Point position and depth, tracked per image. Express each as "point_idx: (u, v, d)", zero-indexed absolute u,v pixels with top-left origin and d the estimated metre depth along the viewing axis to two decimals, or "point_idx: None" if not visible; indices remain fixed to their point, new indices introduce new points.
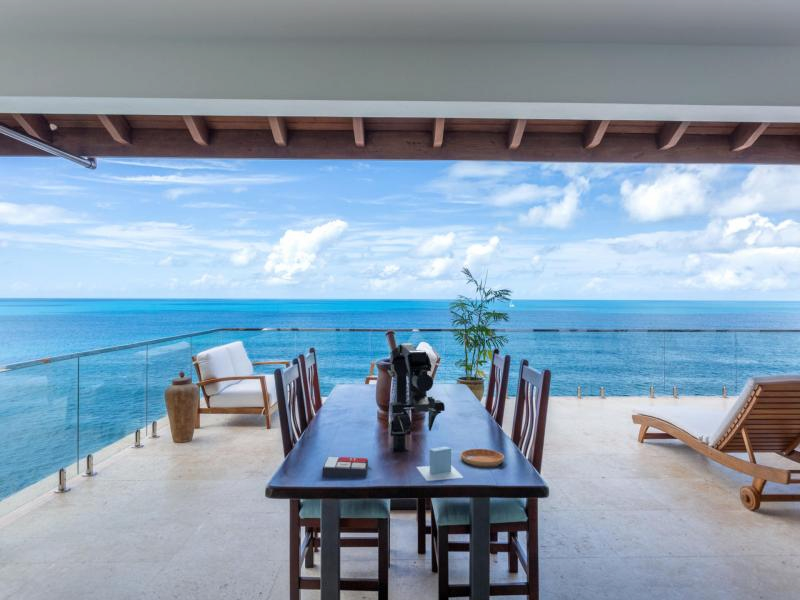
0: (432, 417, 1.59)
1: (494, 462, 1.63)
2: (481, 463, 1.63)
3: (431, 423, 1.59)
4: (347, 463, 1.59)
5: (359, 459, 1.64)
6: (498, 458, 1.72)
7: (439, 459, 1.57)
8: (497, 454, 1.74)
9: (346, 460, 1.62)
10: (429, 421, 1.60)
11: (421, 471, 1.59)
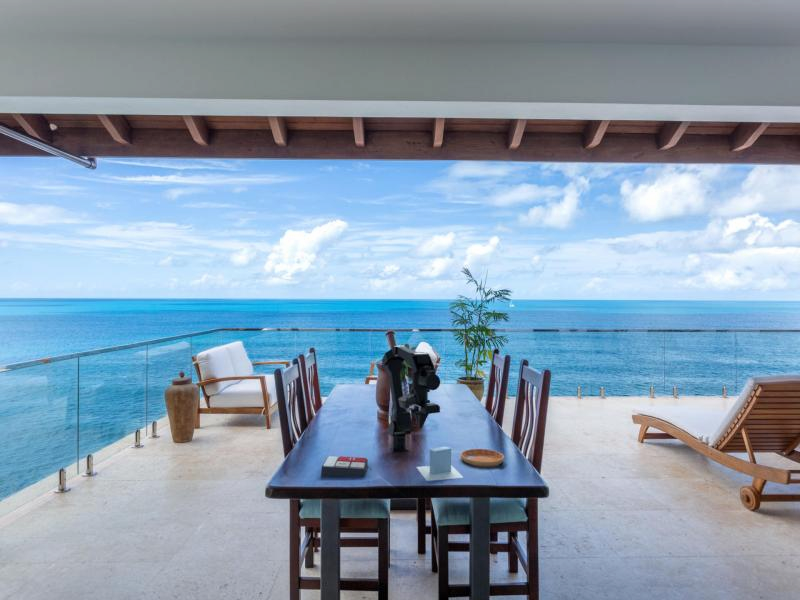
0: (418, 415, 1.69)
1: (494, 462, 1.63)
2: (481, 463, 1.63)
3: (418, 421, 1.69)
4: (346, 463, 1.59)
5: (358, 459, 1.64)
6: (498, 458, 1.72)
7: (439, 459, 1.57)
8: (497, 454, 1.74)
9: (345, 459, 1.63)
10: None
11: (421, 471, 1.59)
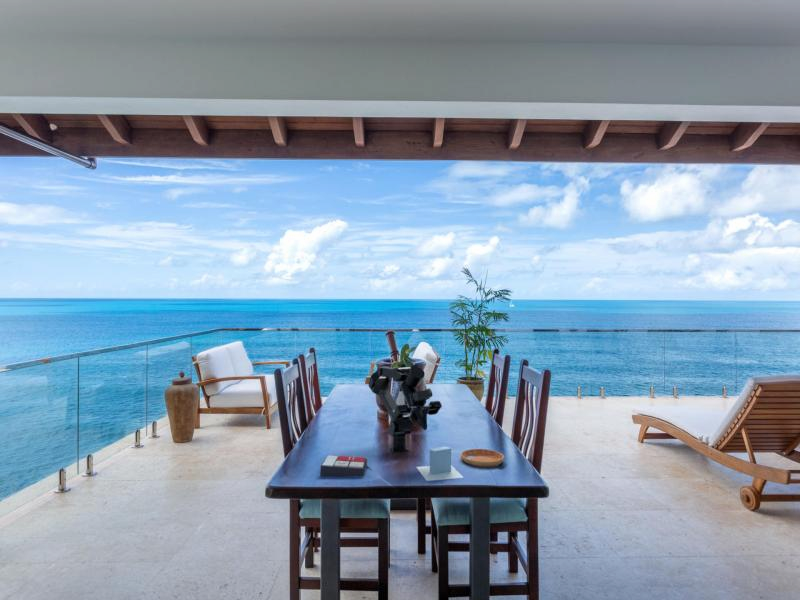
0: (424, 415, 1.70)
1: (494, 462, 1.63)
2: (481, 463, 1.63)
3: (425, 421, 1.69)
4: (346, 462, 1.60)
5: (358, 458, 1.65)
6: (498, 458, 1.72)
7: (439, 459, 1.57)
8: (497, 454, 1.74)
9: (345, 459, 1.63)
10: None
11: (421, 471, 1.59)
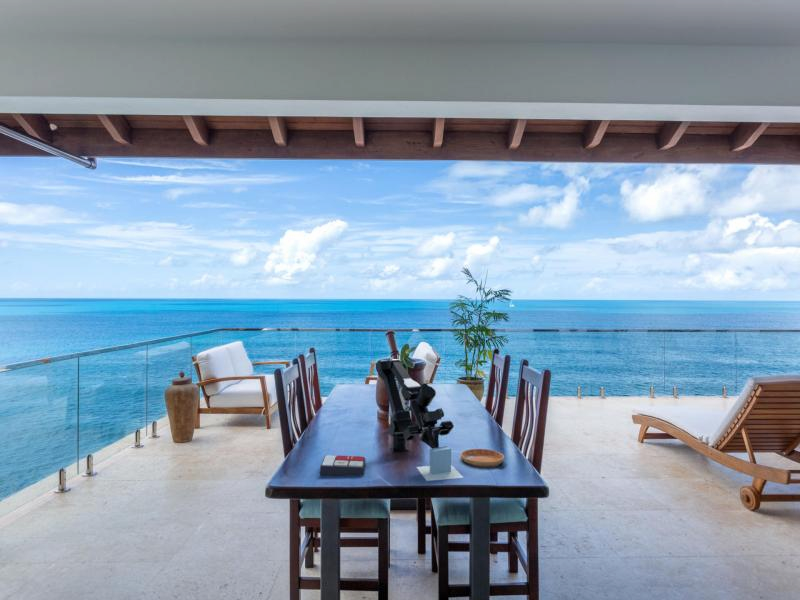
0: (435, 436, 1.63)
1: (494, 462, 1.63)
2: (481, 463, 1.63)
3: (437, 442, 1.62)
4: (345, 462, 1.60)
5: (356, 457, 1.65)
6: (498, 458, 1.72)
7: (439, 459, 1.57)
8: (497, 454, 1.74)
9: (343, 458, 1.64)
10: None
11: (421, 471, 1.59)
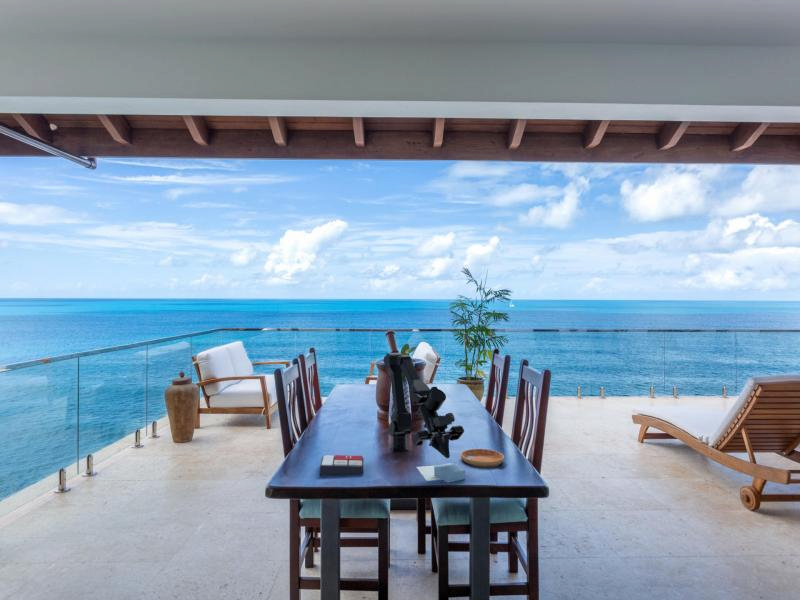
0: (446, 442, 1.57)
1: (494, 462, 1.63)
2: (481, 463, 1.63)
3: (447, 448, 1.56)
4: (344, 461, 1.61)
5: (355, 457, 1.66)
6: (498, 458, 1.72)
7: None
8: (497, 454, 1.74)
9: (342, 458, 1.64)
10: None
11: (421, 471, 1.59)
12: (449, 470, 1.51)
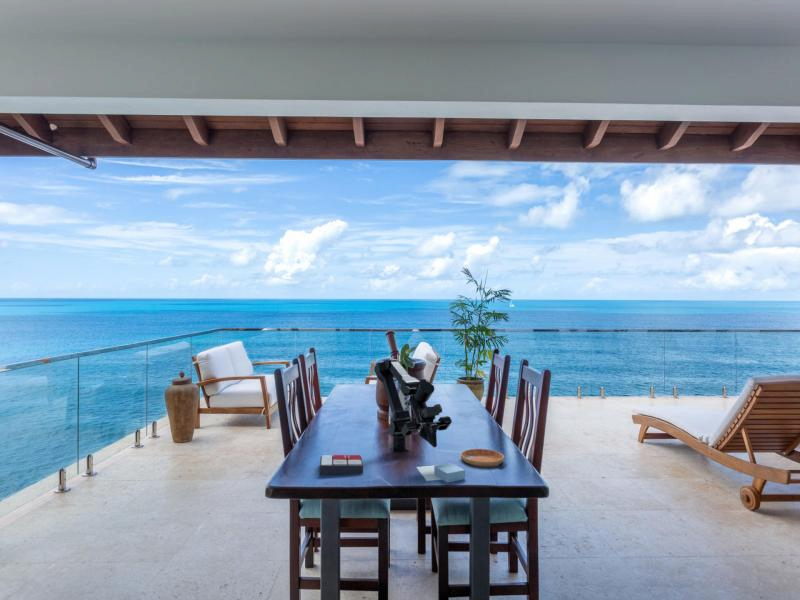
0: (433, 432, 1.64)
1: (494, 462, 1.63)
2: (481, 463, 1.63)
3: (435, 438, 1.63)
4: (343, 461, 1.61)
5: (353, 456, 1.67)
6: (498, 458, 1.72)
7: None
8: (497, 454, 1.74)
9: (340, 457, 1.65)
10: None
11: (421, 471, 1.59)
12: (449, 470, 1.51)
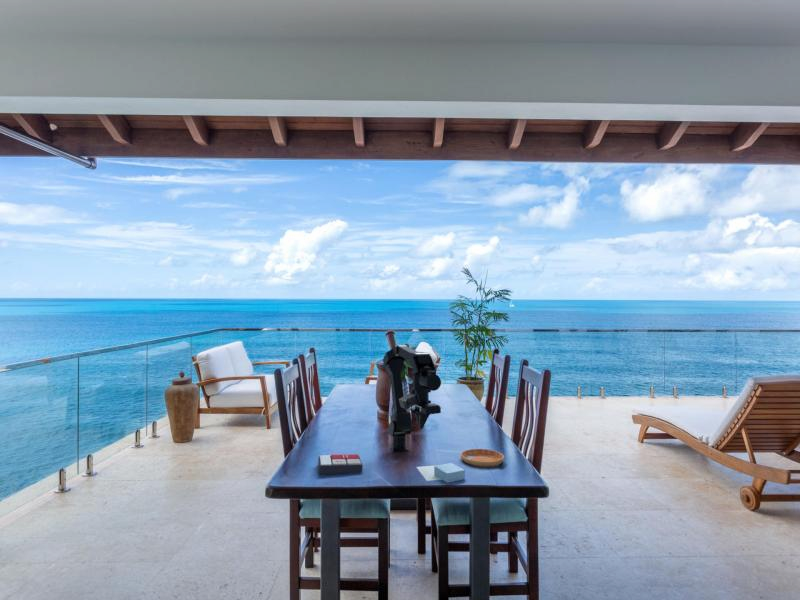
0: (418, 416, 1.68)
1: (494, 462, 1.63)
2: (481, 463, 1.63)
3: (419, 421, 1.68)
4: (342, 460, 1.62)
5: (351, 455, 1.68)
6: (498, 458, 1.72)
7: None
8: (497, 454, 1.74)
9: (339, 457, 1.65)
10: None
11: (421, 471, 1.59)
12: (449, 470, 1.51)
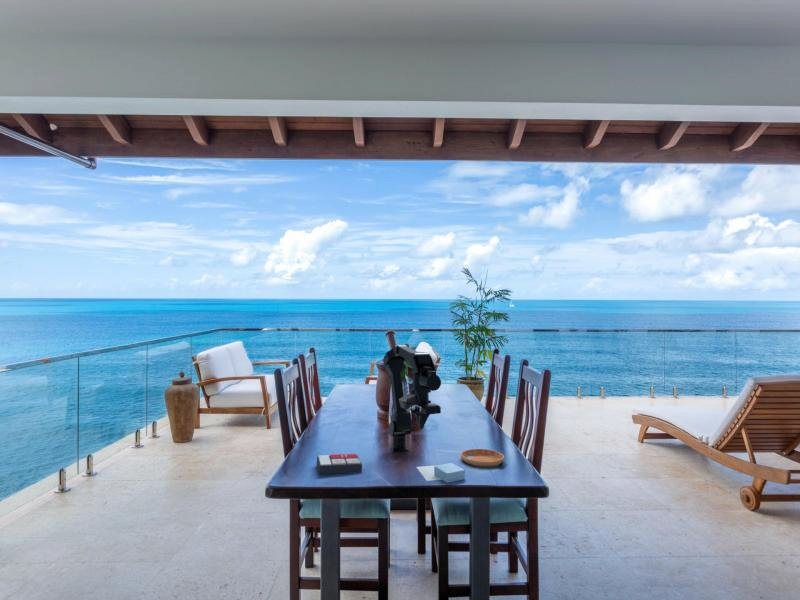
0: (418, 416, 1.67)
1: (494, 462, 1.63)
2: (481, 463, 1.63)
3: (419, 421, 1.68)
4: (342, 460, 1.62)
5: (350, 455, 1.68)
6: (498, 458, 1.72)
7: None
8: (497, 454, 1.74)
9: (338, 457, 1.65)
10: None
11: (421, 471, 1.59)
12: (449, 470, 1.51)
